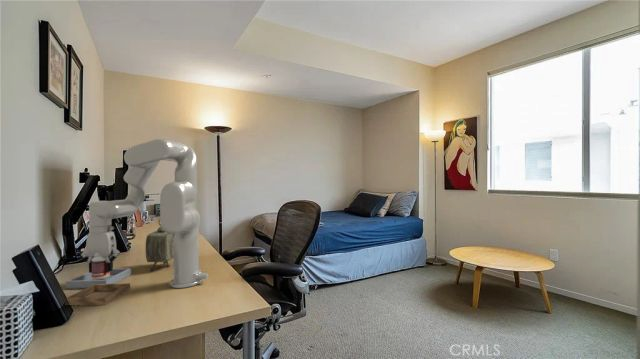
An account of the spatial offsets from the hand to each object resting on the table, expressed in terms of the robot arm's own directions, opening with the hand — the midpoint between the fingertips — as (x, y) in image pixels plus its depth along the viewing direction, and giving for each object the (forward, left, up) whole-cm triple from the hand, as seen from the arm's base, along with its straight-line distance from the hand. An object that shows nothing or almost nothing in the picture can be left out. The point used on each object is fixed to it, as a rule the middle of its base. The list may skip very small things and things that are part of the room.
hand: (101, 271), depth 120 cm
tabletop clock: (-17, -19, -5) cm, 26 cm away
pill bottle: (0, 0, -3) cm, 3 cm away
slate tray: (0, 0, -5) cm, 5 cm away
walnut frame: (-12, +17, -5) cm, 21 cm away
